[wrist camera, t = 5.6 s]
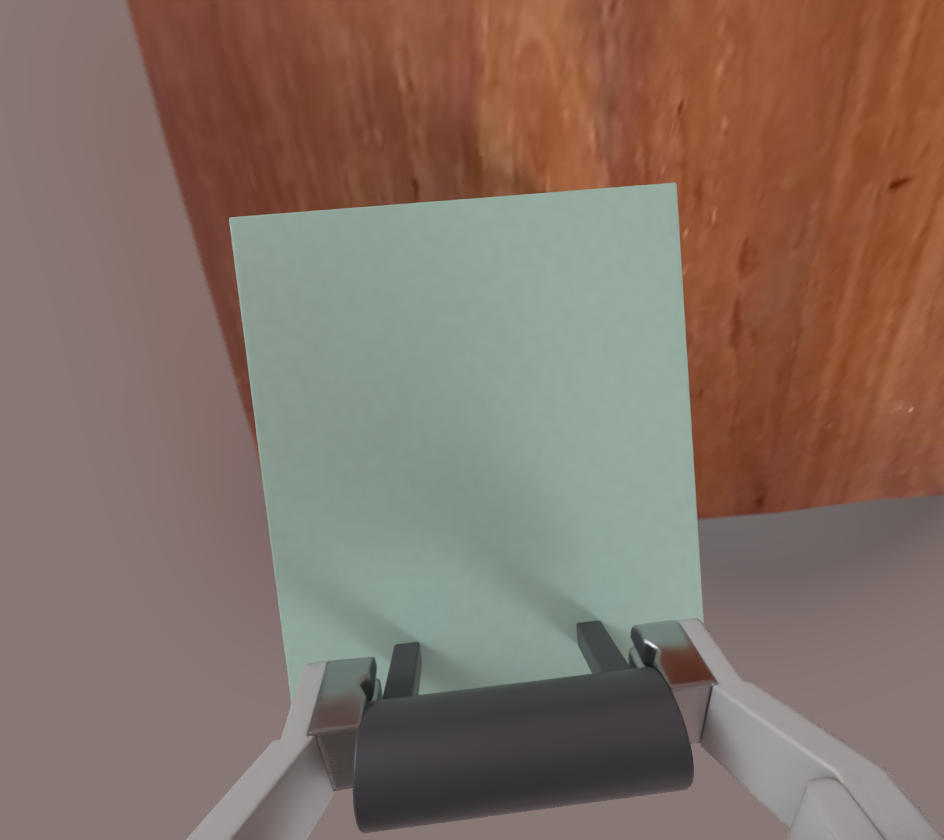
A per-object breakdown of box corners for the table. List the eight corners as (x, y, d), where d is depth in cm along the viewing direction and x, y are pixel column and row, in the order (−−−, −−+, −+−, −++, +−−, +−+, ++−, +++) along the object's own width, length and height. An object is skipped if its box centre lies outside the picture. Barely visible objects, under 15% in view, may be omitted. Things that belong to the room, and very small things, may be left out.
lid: (693, 675, 13) (852, 860, 8) (305, 723, 13) (203, 954, 7) (662, 195, 12) (819, 47, 7) (242, 228, 12) (76, 96, 6)
